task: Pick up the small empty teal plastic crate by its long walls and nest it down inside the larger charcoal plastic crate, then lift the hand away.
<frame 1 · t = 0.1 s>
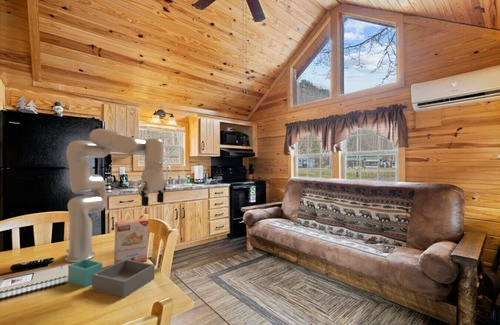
hand: (152, 203, 109), 31 cm above the table, tool pointing down, fingers open, 9 cm apart
teal crate: (85, 280, 101), on the table
cracker box: (130, 263, 119), on the table
charcoal crate: (124, 284, 99), on the table
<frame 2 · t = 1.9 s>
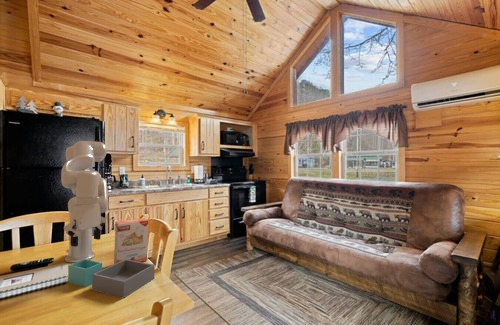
hand: (86, 242, 100), 16 cm above the table, tool pointing down, fingers open, 9 cm apart
nothing on the table moved.
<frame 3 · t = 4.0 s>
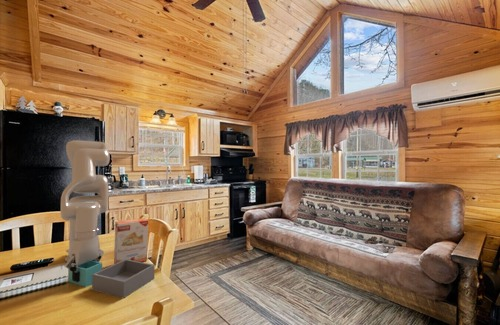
hand: (85, 276, 101), 2 cm above the table, tool pointing down, fingers closed on teal crate, 7 cm apart
teal crate: (85, 280, 101), on the table, touching gripper
everything else where it was.
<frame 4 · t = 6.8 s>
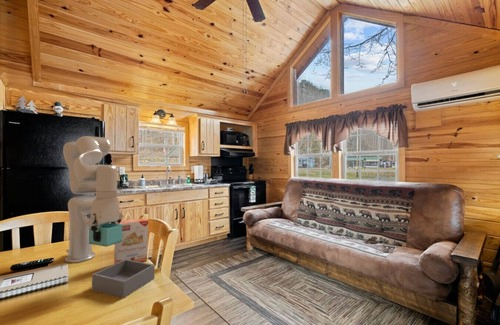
hand: (105, 238, 99), 18 cm above the table, tool pointing down, fingers closed on teal crate, 7 cm apart
teal crate: (105, 242, 99), point 17 cm above the table, touching gripper
everything else where it was.
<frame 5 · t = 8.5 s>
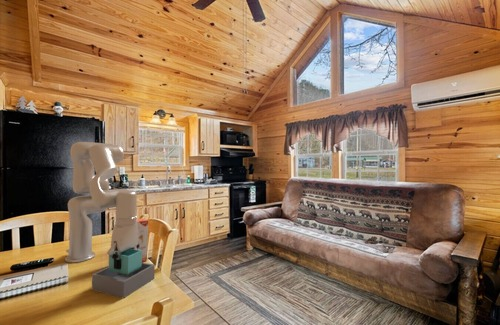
hand: (125, 264, 99), 8 cm above the table, tool pointing down, fingers closed on teal crate, 7 cm apart
teal crate: (125, 269, 99), point 6 cm above the table, touching gripper
everything else where it was.
when the fingers open (4 cm above the table, at t = 9.8 s): teal crate drops 1 cm, resting on charcoal crate.
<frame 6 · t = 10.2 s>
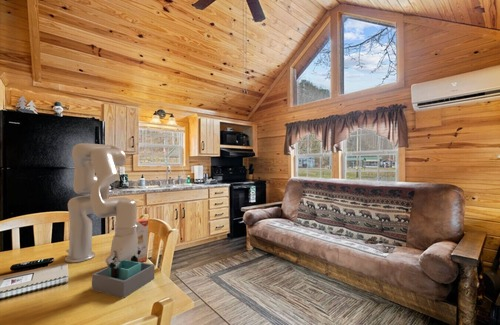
hand: (124, 272, 99), 5 cm above the table, tool pointing down, fingers open, 9 cm apart
teal crate: (124, 281, 99), point 1 cm above the table, touching charcoal crate
everything else where it was.
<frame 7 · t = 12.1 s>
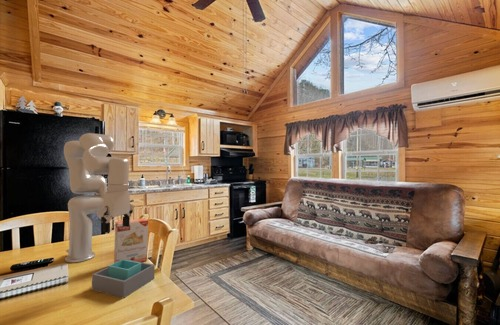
hand: (116, 229, 100), 22 cm above the table, tool pointing down, fingers open, 9 cm apart
nothing on the table moved.
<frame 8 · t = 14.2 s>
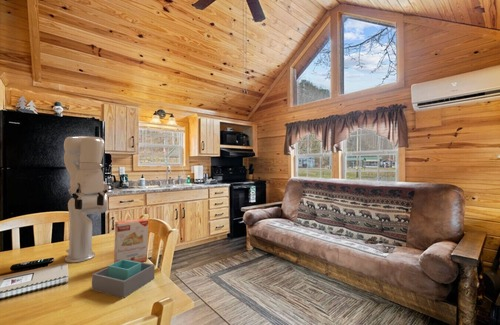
hand: (89, 207, 103), 30 cm above the table, tool pointing down, fingers open, 9 cm apart
nothing on the table moved.
at the end: teal crate inside the target area on the charcoal crate (0.1 cm from its centre), point 1.0 cm above the charcoal crate's base; teal crate tilted 0°; the gripper is holding nothing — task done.
